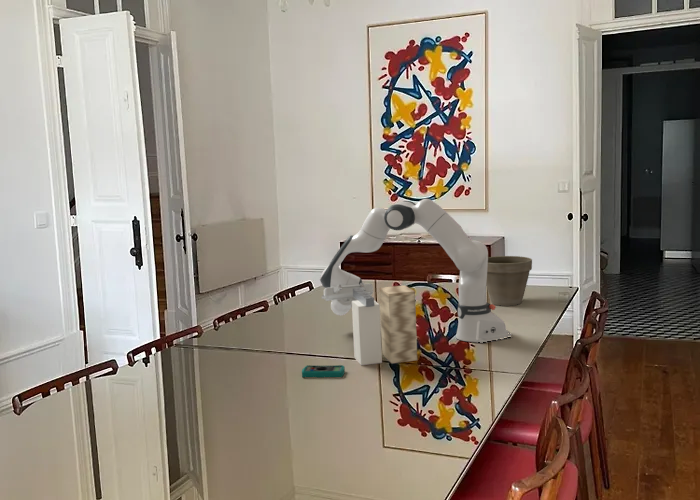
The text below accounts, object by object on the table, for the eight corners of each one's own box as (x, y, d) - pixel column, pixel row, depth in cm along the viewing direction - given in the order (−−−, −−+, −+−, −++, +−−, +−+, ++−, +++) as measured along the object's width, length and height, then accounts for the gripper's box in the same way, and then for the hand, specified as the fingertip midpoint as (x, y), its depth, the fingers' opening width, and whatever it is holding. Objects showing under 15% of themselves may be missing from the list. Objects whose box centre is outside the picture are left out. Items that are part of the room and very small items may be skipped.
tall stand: (407, 351, 270) (404, 285, 266) (417, 360, 258) (414, 291, 254) (382, 354, 267) (379, 287, 264) (391, 363, 256) (388, 293, 252)
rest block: (374, 355, 267) (372, 298, 264) (382, 362, 257) (379, 304, 254) (354, 357, 265) (351, 300, 262) (361, 365, 255) (358, 306, 252)
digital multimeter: (304, 372, 252) (304, 364, 252) (345, 372, 250) (345, 364, 249) (300, 379, 245) (300, 371, 245) (342, 379, 243) (341, 371, 242)
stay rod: (360, 295, 271) (360, 287, 270) (374, 306, 251) (374, 298, 251) (352, 296, 270) (352, 288, 270) (366, 307, 251) (365, 298, 250)
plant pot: (493, 295, 359) (492, 253, 355) (540, 299, 344) (539, 256, 341) (471, 305, 339) (470, 261, 335) (520, 310, 324) (519, 264, 321)
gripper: (319, 291, 289) (324, 280, 277) (367, 287, 294) (374, 275, 281) (321, 306, 287) (326, 295, 274) (369, 301, 292) (377, 290, 279)
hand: (351, 285), depth 278 cm, fingers open, 8 cm apart
